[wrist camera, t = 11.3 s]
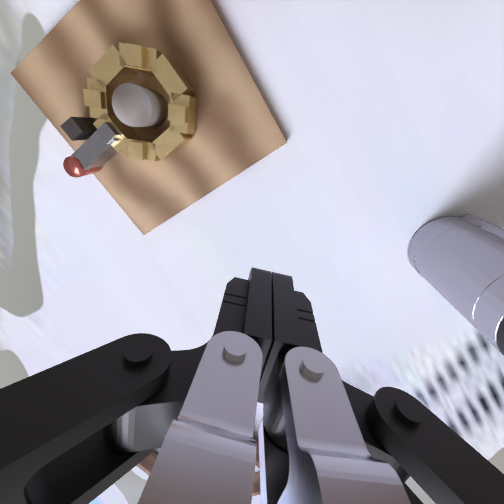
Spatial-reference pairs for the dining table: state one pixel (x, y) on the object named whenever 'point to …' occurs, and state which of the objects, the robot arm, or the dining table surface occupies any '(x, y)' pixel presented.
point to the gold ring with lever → (116, 132)
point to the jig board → (200, 65)
